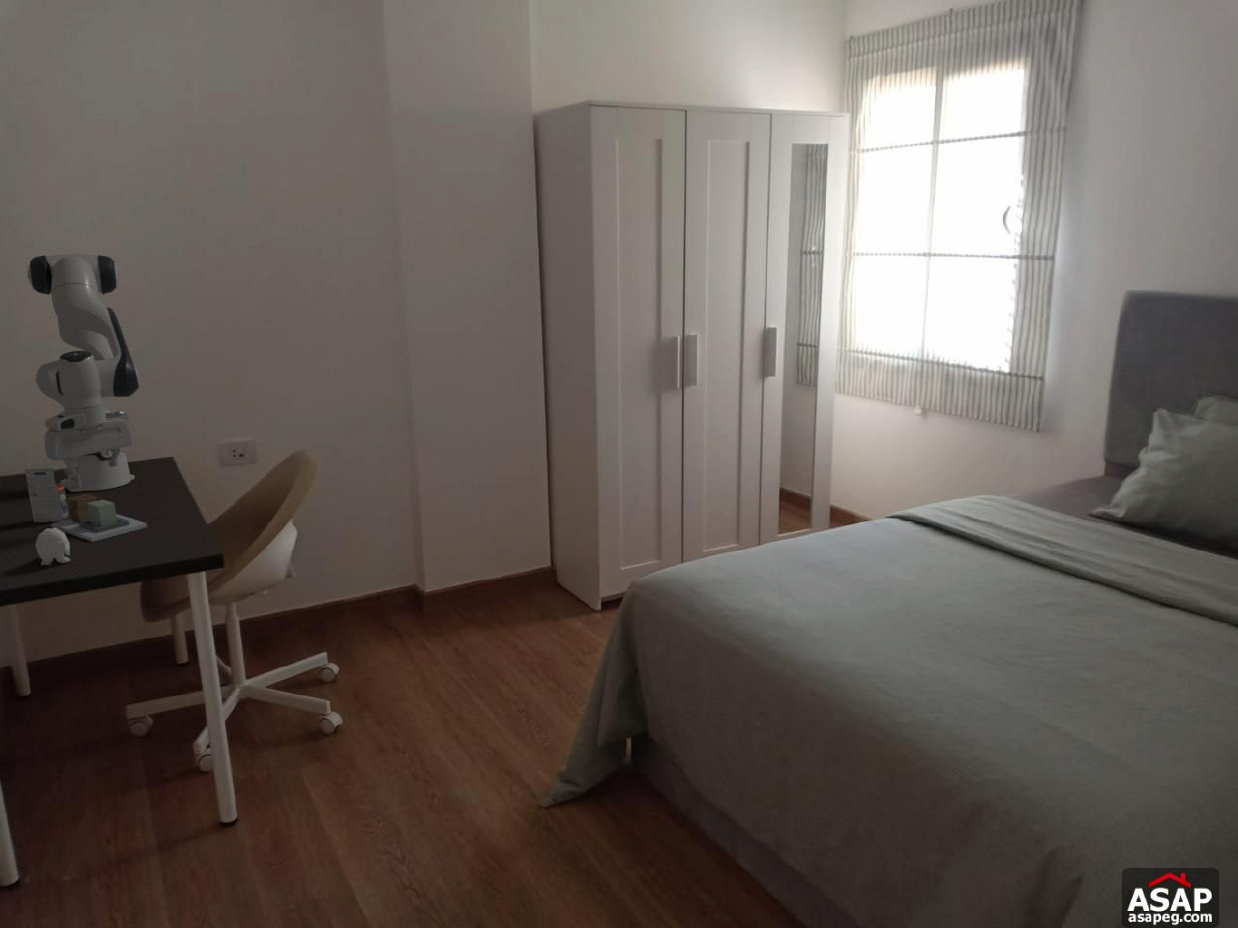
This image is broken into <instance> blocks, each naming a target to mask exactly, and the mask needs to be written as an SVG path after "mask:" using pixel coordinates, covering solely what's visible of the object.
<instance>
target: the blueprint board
mask: <svg viewBox="0 0 1238 928" xmlns="http://www.w3.org/2000/svg"><path fill="white" fill-rule="evenodd" d="M67 500H68V501H67V502H68V507H69V513H70V517H71V518H69V519H67V520H65V521H61V522H52V523H51V529H52V528H57V529H59V530H60V531H62V532H64V533H65V534H69V535H72V536H74V537H77V538H80V539H83V540H84V541H85V540H87V541H89V542H92V543H93V542H96V541H100V540H104V539H108V538H111V537H114V536H119V535H122V534H126V533H131V532H135V531H137V530H142V529H145V528H148V525H147V524H148V523H147V522H143V521H140V520H137V519H134V518H130V517H127V516H124V515H121V514H117V513H116V517H117V523H114V524H110V525H106V526H102V527H97V526H94V525H91V523H90V517H89V511H88V505H87V503H91V502H95V501H98V498H97V496H95V495H92V494H90V493H86V494H81V495H77V496H74V497H69V498H67ZM130 531H131V532H130Z"/></svg>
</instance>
